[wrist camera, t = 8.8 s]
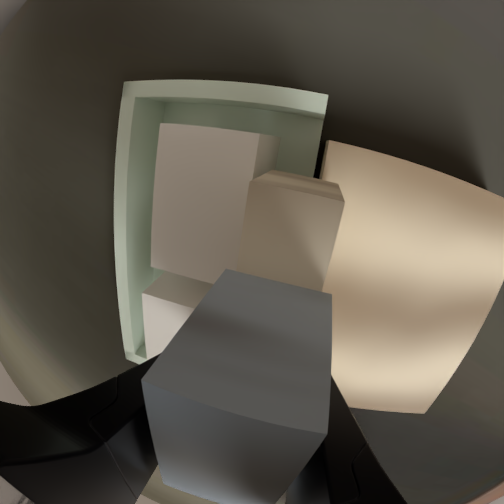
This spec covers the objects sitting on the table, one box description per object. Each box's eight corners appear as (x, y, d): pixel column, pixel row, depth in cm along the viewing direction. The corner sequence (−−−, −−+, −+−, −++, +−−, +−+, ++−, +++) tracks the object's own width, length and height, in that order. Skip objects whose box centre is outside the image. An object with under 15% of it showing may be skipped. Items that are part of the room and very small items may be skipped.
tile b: (234, 289, 11) (150, 266, 11) (262, 241, 16) (200, 227, 16) (259, 133, 9) (160, 123, 9) (281, 137, 14) (213, 127, 14)
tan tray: (413, 371, 17) (424, 413, 14) (278, 348, 19) (268, 391, 15) (488, 192, 12) (527, 209, 9) (325, 141, 14) (329, 140, 10)
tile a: (211, 400, 13) (149, 378, 14) (238, 338, 18) (187, 324, 19) (219, 315, 11) (141, 292, 12) (250, 261, 16) (191, 247, 17)
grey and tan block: (288, 385, 14) (252, 528, 7) (231, 370, 14) (169, 504, 7) (346, 185, 10) (399, 295, 3) (264, 167, 10) (130, 230, 3)
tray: (269, 366, 19) (259, 402, 16) (149, 330, 21) (125, 358, 18) (325, 106, 13) (328, 95, 10) (159, 89, 14) (124, 81, 11)
